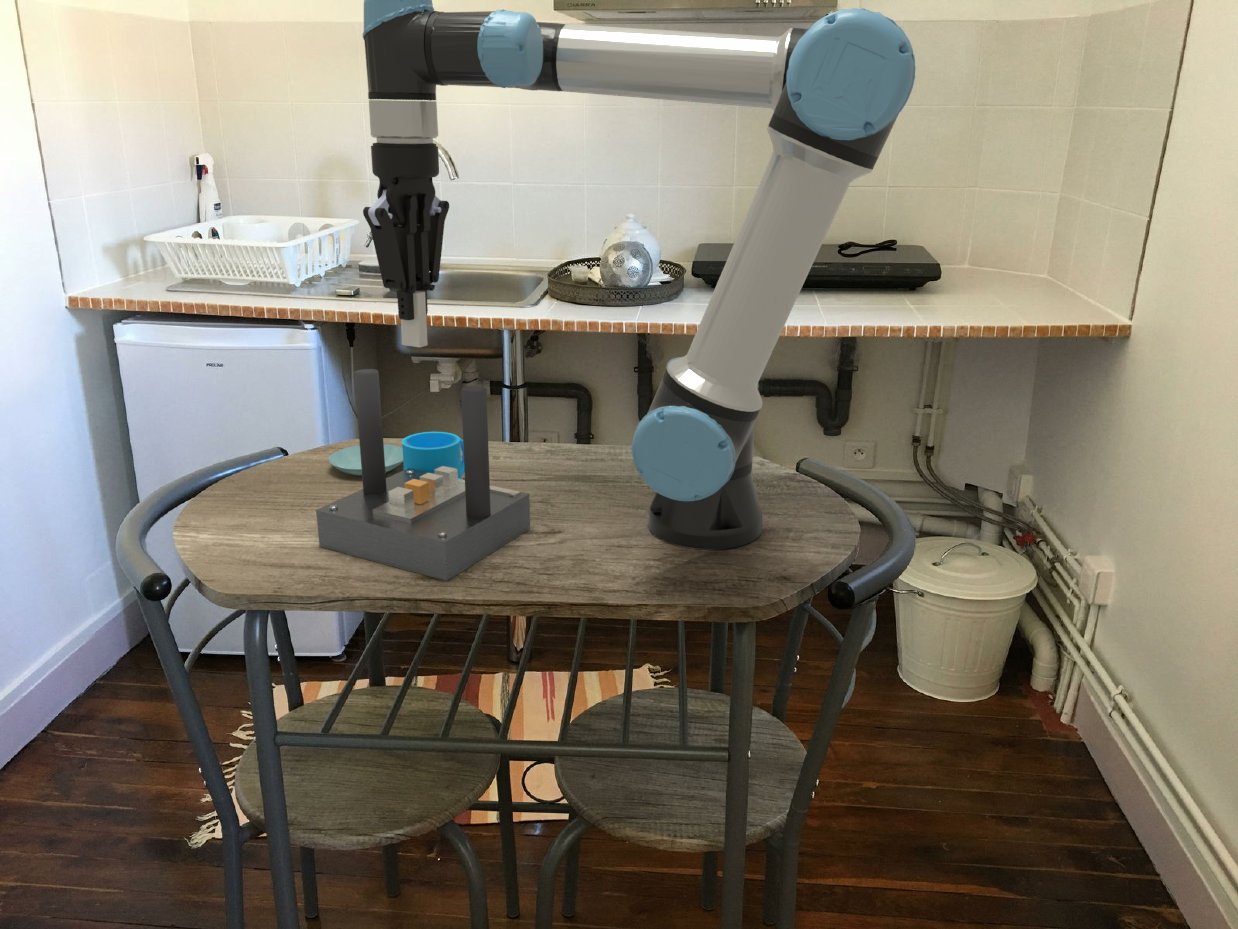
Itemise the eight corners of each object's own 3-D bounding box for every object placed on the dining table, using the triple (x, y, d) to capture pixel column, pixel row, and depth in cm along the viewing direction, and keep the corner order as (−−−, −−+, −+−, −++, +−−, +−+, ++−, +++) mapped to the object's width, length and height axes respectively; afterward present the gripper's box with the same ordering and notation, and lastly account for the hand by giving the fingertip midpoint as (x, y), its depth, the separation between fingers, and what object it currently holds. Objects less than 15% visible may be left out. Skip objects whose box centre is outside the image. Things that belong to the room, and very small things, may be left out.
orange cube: (429, 499, 128) (428, 482, 127) (420, 504, 126) (419, 486, 126) (414, 496, 129) (413, 478, 128) (405, 500, 128) (404, 483, 127)
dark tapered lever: (495, 512, 126) (491, 388, 121) (481, 520, 124) (476, 394, 118) (475, 507, 128) (470, 385, 122) (461, 515, 125) (455, 390, 120)
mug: (436, 508, 141) (433, 453, 138) (393, 497, 145) (389, 442, 142) (490, 483, 150) (488, 431, 148) (448, 473, 154) (445, 422, 152)
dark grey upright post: (391, 488, 134) (383, 370, 128) (376, 495, 131) (367, 375, 126) (373, 484, 135) (365, 367, 130) (358, 491, 132) (349, 372, 127)
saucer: (353, 488, 148) (352, 473, 147) (315, 468, 156) (314, 454, 155) (422, 471, 156) (422, 456, 155) (383, 452, 164) (382, 439, 163)
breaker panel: (530, 529, 134) (529, 472, 131) (446, 581, 119) (443, 518, 116) (410, 501, 143) (407, 447, 140) (319, 546, 128) (313, 487, 125)
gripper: (415, 138, 122) (424, 331, 130) (339, 140, 111) (354, 351, 119) (465, 140, 118) (471, 338, 126) (392, 143, 108) (404, 359, 115)
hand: (414, 344), depth 123 cm, fingers closed
